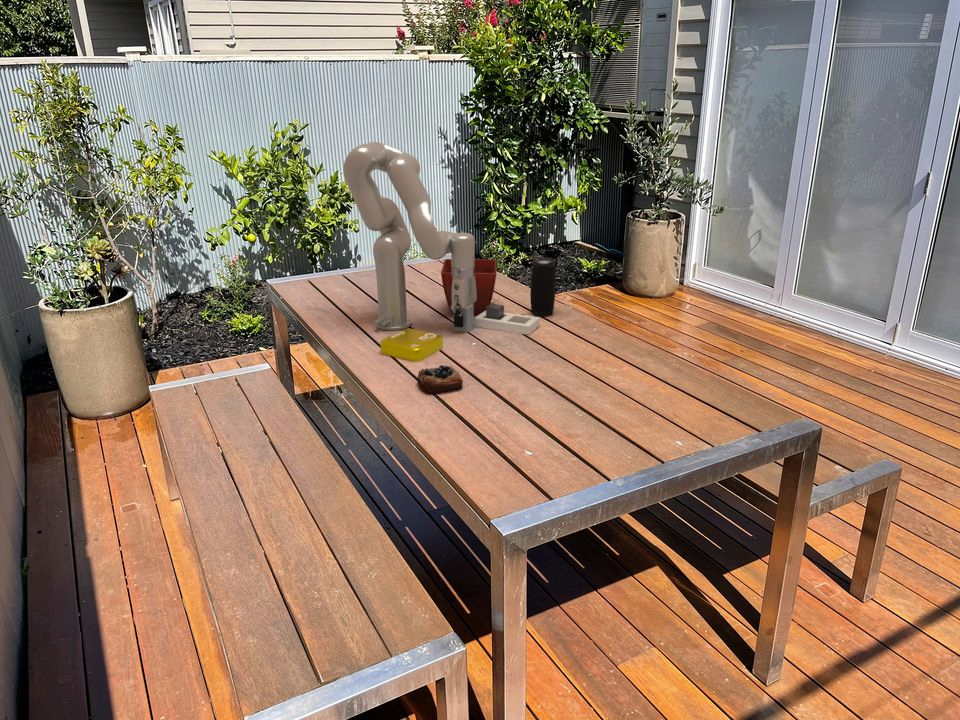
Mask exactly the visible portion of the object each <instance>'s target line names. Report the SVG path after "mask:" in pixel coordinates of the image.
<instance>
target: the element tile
mask: <svg viewBox="0 0 960 720" xmlns="http://www.w3.org/2000/svg"><path fill="white" fill-rule="evenodd" d="M443 342H444V337H443V335H441V334H438V333H433V332H428V331H424V330H418V329H414V328H409V327H407V328H404V329H400V331H397V332H395V333H393V334H391V335H389V336H386V337H385V338H383V339H381V340H380V353H381V354H382V355H384V356H389V357H392V358H397V359H401V360H406V361H410V362H416V363H417V362H422V361H423V360H426V359H427V358H429V357H430V355H431V356H432V355H434V354H436V353H438V352H439V351H441V350H442V348H444V343H443ZM437 351H438V352H437ZM428 356H429V357H428Z"/></svg>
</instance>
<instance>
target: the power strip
mask: <svg viewBox="0 0 960 720" xmlns="http://www.w3.org/2000/svg"><path fill="white" fill-rule="evenodd" d="M540 326H541V317H539V316H530V315H526V313H521V314H518V313H510V312H505V305H504V304H500V303H499V304H497V303H492V302H491V304H490V305H488V306H487V307H486V311H484V312H483V313H481V314H480V315H478V316H474V328H475V327H476V328H480V327H481V328H480V329H487V330H493V329H494V330H495V331H499V330H500V332H508V333H512V332H513V333H514V334H519V335H525V334H528V335H527V336H530V335H531V334H532V333H533V332H534V331H535V329H536V328H537V327H538V328H539V327H540ZM538 328H537V329H538ZM532 331H533V332H532ZM531 332H532V333H531ZM530 333H531V334H530ZM529 334H530V335H529Z"/></svg>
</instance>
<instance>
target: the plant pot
mask: <svg viewBox="0 0 960 720" xmlns="http://www.w3.org/2000/svg"><path fill="white" fill-rule="evenodd" d="M474 264H475V280H476V294H477V300H476V302H475V303H474V304H473V305H474V308H473V311H474V317H477V316H478V315H480V314H481V313H483V312H484V311H486V307H487V306H488V305H490V304H492V300H493V297H494V291H495V285H496V279H497V260H496V259H489V258H488V259H486V258H485V259H484V258H483V259H482V258H479V259H478V258H477V259H476V258H474ZM440 275H441V276H440V277H441V281H442V282H441V283H442V289H443V292H444V296H445V299H446V300H445V301H446V304H447V307H448V309H449V312H450V315H451V316H453V312H452V310H451V305H452V279H453V277H452V266H451V258H446V259H444V260H443V264H442V268H441V272H440Z"/></svg>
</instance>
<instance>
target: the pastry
mask: <svg viewBox="0 0 960 720" xmlns="http://www.w3.org/2000/svg"><path fill="white" fill-rule="evenodd" d="M463 383H464V380H463V377H462V376H461V375H460V372H459V371H458V370H456V369H455V368H454V367H453V366H451V365H443V364H440V365H439V366H438V367H435V368H434V367H431V368H428V367H427V368H422V369H420V370H418V375H417V385H418V387H419V389H421V391H422V392H424V393H425V394H427V395H436V393H438V394H443V393H442V392H444V393H449V392H448V391H451V392H455V391H454V390H456V391H460V390H462V388H463ZM459 389H460V390H459Z"/></svg>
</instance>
